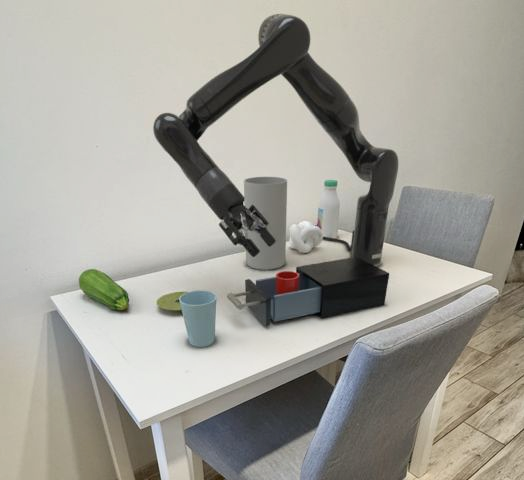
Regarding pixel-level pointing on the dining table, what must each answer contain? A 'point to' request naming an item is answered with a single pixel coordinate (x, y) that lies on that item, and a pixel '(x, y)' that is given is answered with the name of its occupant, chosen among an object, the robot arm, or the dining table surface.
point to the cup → (199, 316)
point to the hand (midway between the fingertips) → (265, 249)
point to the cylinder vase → (268, 219)
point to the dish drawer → (279, 299)
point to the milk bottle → (329, 210)
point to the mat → (170, 301)
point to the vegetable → (103, 289)
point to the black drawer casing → (347, 285)
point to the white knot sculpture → (305, 236)
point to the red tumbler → (287, 282)
